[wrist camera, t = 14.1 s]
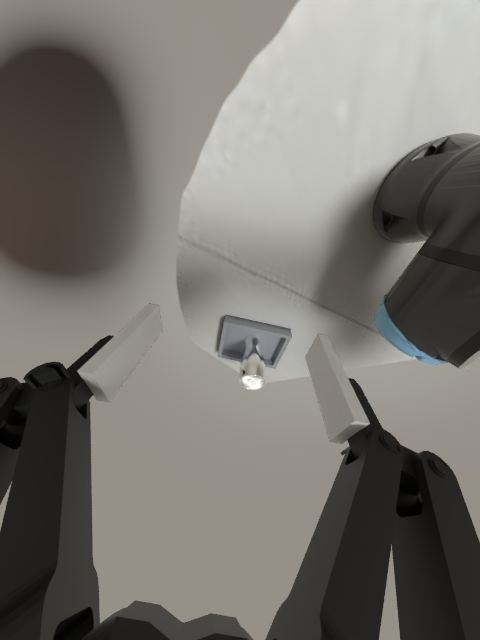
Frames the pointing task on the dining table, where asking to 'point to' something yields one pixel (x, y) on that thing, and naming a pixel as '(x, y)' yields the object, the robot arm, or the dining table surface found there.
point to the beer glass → (253, 364)
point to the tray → (242, 328)
